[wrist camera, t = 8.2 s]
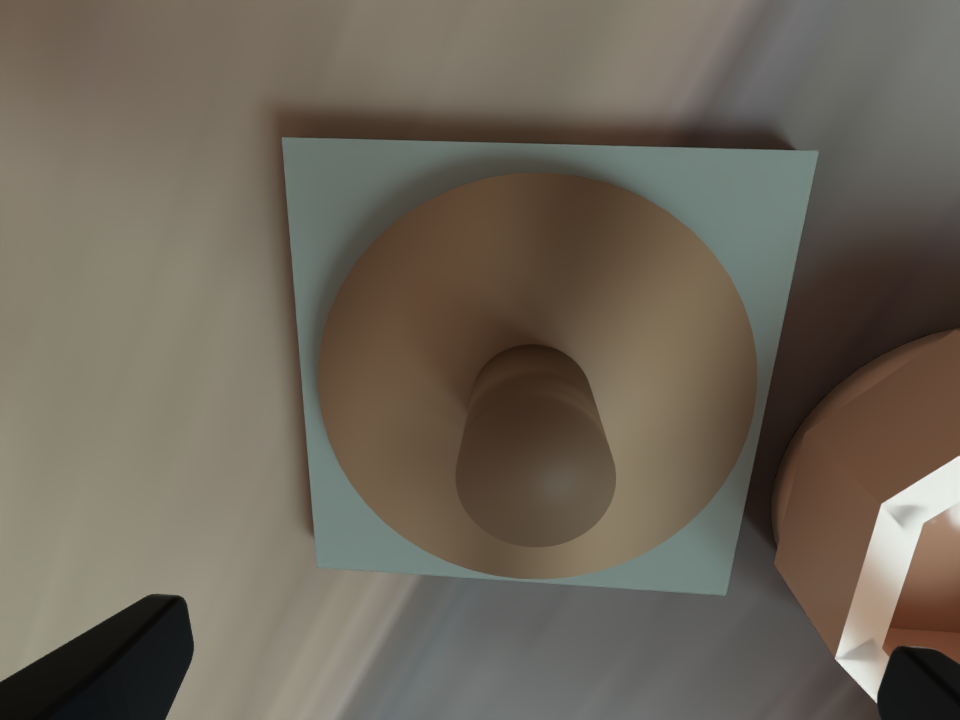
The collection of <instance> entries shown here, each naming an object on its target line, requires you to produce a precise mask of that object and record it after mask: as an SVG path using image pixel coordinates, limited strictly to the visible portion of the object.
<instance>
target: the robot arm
mask: <svg viewBox="0 0 960 720" xmlns="http://www.w3.org/2000/svg"><path fill="white" fill-rule="evenodd" d="M193 651H194V641H193V635H192V630H191V624H190V619H189V613H188V608H187V603H186V601H185V600H184V598H183V597H181V596H179V595H166V594H151V595H148V596H146V597H144V598H142V599H141V600H139V601H137V602H136V603H134V604H132V605H131V606H129V607H127V608H125V609H124V610H122V611H120V612H119V613H117V614H115V615H114V616H112V617H110V618H108V619H107V620H105V621H103V622H102V623H100V624H98V625H96V626H95V627H93V628H91V629H90V630H88V631H86V632H85V633H83V634H81V635H79V636H78V637H76V638H74V639H73V640H71V641H69V642H68V643H66V644H64V645H62V646H61V647H59V648H57V649H56V650H54V651H52V652H51V653H49V654H47V655H45V656H44V657H42V658H40V659H39V660H37V661H35V662H33V663H32V664H30V665H28V666H27V667H25V668H23V669H22V670H20V671H18V672H16V673H15V674H13V675H11V676H10V677H8V678H6V679H5V680H3V681H1V682H0V720H165V719H166V717H167V715H168V712H169V710H170V708H171V706H172V704H173V701H174V699H175V697H176V695H177V692H178V690H179V688H180V686H181V683H182V681H183V679H184V677H185V674H186V672H187V670H188V668H189V665H190V663H191V660H192V656H193ZM877 706H878V711H879V714H880V717H881V720H960V664H959V663H957V662H956V661H954V660H953V659H951V658H950V657H948V656H947V655H945V654H943V653H942V652H940V651H938V650H936V649H933V648H929V647H918V646H897V647H896V648H895V649H894V650H893V651H892V653H891V655H890V658H889V660H888V663H887V666H886V669H885V672H884V675H883V678H882V681H881V684H880V687H879V690H878V693H877Z"/></svg>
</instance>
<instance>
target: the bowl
mask: <svg viewBox="0 0 960 720" xmlns="http://www.w3.org/2000/svg"><path fill="white" fill-rule="evenodd" d="M771 523H772V528H773V534H774V539H775V542H776V545H777V552H776V556H775V560H774V565H775V566H776V568H777V570H778V571H779V573H780V574H781V576H782V577H783V579H784V580H785V582H786V584H787V585H788V587H789V588H790V590H791V591H792V593H793V594H794V596H795V598H796V599H797V601H798V602H799V604H800V605H801V607H802V608H803V610H804V612H805V613H806V615H807V616H808V618H809V619H810V621H811V623H812V624H813V626H814V627H815V629H816V630H817V632H818V633H819V635H820V637H821V638H822V640H823V641H824V643H825V644H826V646H827V647H828V649H829V651H830V652H831V654H832V655H833V657H834V658H835V659H836V660H837V662H838V663H839V664H840V665H841V666H842V667H843V668H844V669H845V670H846V671H847V672H848V673H849V674H850V675H851V676H852V677H853V679H854V680H855V681H856V682H857V683H858V684H859V685H860V686H861V687H862V688H863V689H864V690H865V691H866V692H867V693H868V694H869V695H870V697H871V698H872V699H873V700H874V701H875V702H876V703H877V693H878V690H879V687H880V684H881V681H882V678H883V675H884V672H885V669H886V666H887V663H888V660H889V658H890V655H891V653H892V651H893V650H894V649H895V648H896V647H897V646H918V647H929V648H933V649H936V650H938V651H940V652H942V653H943V654H945V655H947V656H948V657H950V658H951V659H953V660H954V661H956V662H957V663H959V664H960V327H959V328H955V329H951V330H947V331H943V332H939V333H934V334H930V335H928V336H925V337H922V338H919V339H917V340H914V341H911V342H908V343H906V344H903V345H901V346H899V347H897V348H895V349H893V350H891V351H889V352H887V353H885V354H883V355H881V356H879V357H877V358H875V359H874V360H872V361H871V362H869V363H867V364H866V365H864V366H863V367H861V368H859V369H858V370H856V371H855V372H854V373H852V374H851V375H850V376H848V377H847V378H846V379H845V380H843V381H842V382H841V383H839V384H838V385H837V386H836V387H834V388H833V389H832V390H831V391H830V392H829V393H828V394H827V395H826V396H825V397H824V398H823V399H822V400H821V401H820V402H819V403H818V404H817V405H816V406H815V407H814V409H813V410H812V411H811V412H810V414H809V415H808V416H807V417H806V419H805V420H804V421H803V422H802V423H801V425H800V427H799V428H798V430H797V431H796V433H795V435H794V436H793V438H792V439H791V441H790V442H789V444H788V447H787V449H786V451H785V453H784V455H783V457H782V460H781V462H780V464H779V468H778V471H777V474H776V478H775V481H774V486H773V492H772V499H771Z"/></svg>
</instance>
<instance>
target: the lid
mask: <svg viewBox="0 0 960 720" xmlns="http://www.w3.org/2000/svg"><path fill="white" fill-rule="evenodd" d="M318 392H319V399H320V407H321V414H322V418H323V422H324V425H325V429H326V432H327V436H328V439H329V442H330V444H331V447H332V449H333V451H334V454H335V456H336V458H337V461H338V463H339V465H340V466H341V468H342V470H343V472H344V473H345V475H346V477H347V478H348V480H349V482H350V483H351V485H352V486H353V488H354V489H355V490H356V491H357V493H358V494H359V495H360V497H361V498H362V499H363V500H364V502H365V503H366V504H367V505H368V506H369V507H370V508H371V509H372V510H373V511H374V513H375V514H376V515H377V516H378V517H379V518H380V519H381V520H382V521H383V522H384V523H386V524H387V525H388V526H389V527H391V528H392V529H393V530H394V531H396V532H397V533H398V534H399V535H401V536H402V537H403V538H405V539H406V540H408V541H410V542H411V543H413V544H414V545H416V546H418V547H419V548H421V549H422V550H424V551H426V552H428V553H430V554H432V555H434V556H436V557H438V558H440V559H442V560H445V561H447V562H449V563H452V564H455V565H458V566H461V567H463V568H466V569H469V570H473V571H477V572H481V573H485V574H490V575H494V576H501V577H509V578H517V579H555V578H566V577H574V576H579V575H583V574H588V573H593V572H598V571H601V570H604V569H607V568H610V567H613V566H616V565H620V564H622V563H624V562H627V561H629V560H631V559H633V558H636V557H638V556H640V555H642V554H644V553H646V552H648V551H650V550H651V549H653V548H655V547H656V546H658V545H660V544H661V543H663V542H665V541H666V540H668V539H669V538H670V537H672V536H673V535H674V534H676V533H677V532H678V531H680V530H681V529H682V528H684V527H685V526H686V525H687V524H688V523H689V522H690V521H692V520H693V519H694V518H695V517H696V516H697V515H698V514H699V513H700V512H701V511H702V510H703V509H704V508H705V507H706V506H707V504H708V503H709V502H710V501H711V499H712V498H713V497H714V496H715V494H716V493H717V492H718V491H719V489H720V488H721V487H722V486H723V484H724V482H725V481H726V479H727V477H728V476H729V474H730V472H731V471H732V469H733V467H734V466H735V464H736V462H737V460H738V458H739V455H740V453H741V451H742V448H743V446H744V444H745V441H746V439H747V436H748V432H749V428H750V425H751V421H752V418H753V414H754V408H755V400H756V392H757V356H756V350H755V344H754V338H753V332H752V328H751V325H750V322H749V319H748V316H747V313H746V310H745V307H744V304H743V301H742V299H741V297H740V295H739V293H738V291H737V289H736V287H735V285H734V283H733V281H732V279H731V277H730V276H729V274H728V273H727V272H726V270H725V269H724V267H723V266H722V265H721V263H720V262H719V260H718V259H717V257H716V256H715V255H714V253H713V252H712V251H711V250H710V249H709V248H708V247H707V246H706V245H705V244H704V243H703V241H702V240H701V239H700V238H699V237H698V236H697V235H696V234H695V233H694V232H693V231H692V230H691V229H690V228H688V227H687V226H686V225H684V224H683V223H682V222H681V221H679V220H678V219H677V218H675V217H674V216H673V215H672V214H670V213H669V212H668V211H666V210H664V209H663V208H661V207H659V206H657V205H656V204H654V203H652V202H650V201H649V200H647V199H645V198H643V197H642V196H640V195H638V194H635V193H633V192H630V191H627V190H625V189H622V188H620V187H617V186H615V185H612V184H610V183H606V182H602V181H597V180H593V179H589V178H585V177H581V176H576V175H567V174H556V173H546V172H539V173H514V174H508V175H502V176H497V177H491V178H485V179H481V180H478V181H475V182H472V183H469V184H466V185H463V186H460V187H457V188H454V189H451V190H448V191H446V192H444V193H442V194H440V195H438V196H436V197H434V198H432V199H430V200H428V201H426V202H424V203H422V204H420V205H419V206H417V207H416V208H414V209H413V210H411V211H410V212H408V213H407V214H405V215H404V216H402V217H401V218H399V219H398V220H397V221H395V222H394V223H393V224H392V225H391V226H390V227H389V228H388V229H386V230H385V231H384V232H383V233H382V234H381V235H380V236H379V237H377V238H376V239H375V240H374V241H373V243H372V244H371V245H370V246H369V247H368V248H367V250H366V251H365V252H364V253H363V254H362V256H361V257H360V258H359V259H358V260H357V261H356V263H355V264H354V266H353V267H352V269H351V271H350V272H349V274H348V275H347V277H346V279H345V280H344V282H343V283H342V285H341V287H340V289H339V291H338V293H337V296H336V298H335V300H334V302H333V305H332V307H331V309H330V311H329V314H328V318H327V321H326V325H325V328H324V332H323V335H322V340H321V347H320V354H319V362H318Z"/></svg>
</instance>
